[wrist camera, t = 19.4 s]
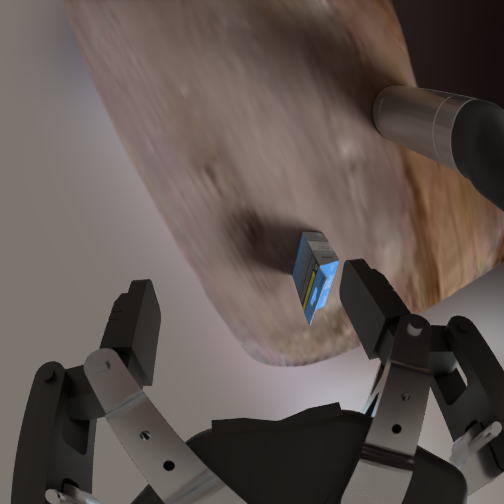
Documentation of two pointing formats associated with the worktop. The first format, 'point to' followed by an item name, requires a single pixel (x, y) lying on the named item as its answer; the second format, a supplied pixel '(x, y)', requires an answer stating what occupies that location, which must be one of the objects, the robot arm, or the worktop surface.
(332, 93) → the worktop surface
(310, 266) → the label tape box
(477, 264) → the worktop surface
